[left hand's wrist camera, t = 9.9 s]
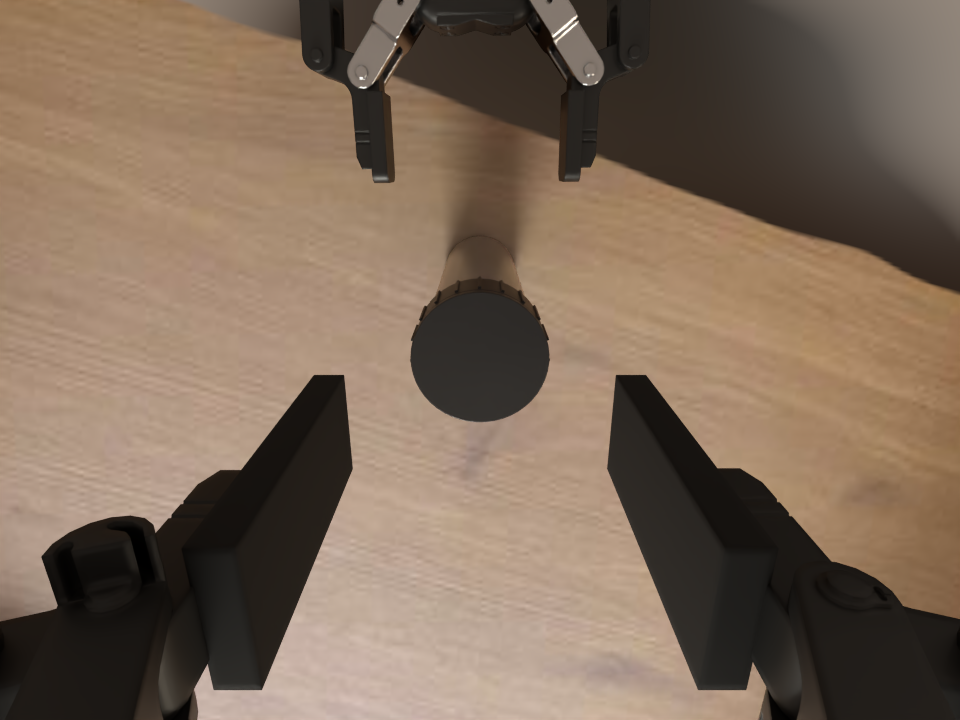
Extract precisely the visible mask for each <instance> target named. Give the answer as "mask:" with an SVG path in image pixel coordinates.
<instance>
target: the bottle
mask: <svg viewBox="0 0 960 720" xmlns="http://www.w3.org/2000/svg"><path fill="white" fill-rule="evenodd" d="M478 277H481V278H484V279H492V280H496V281H500V280H503V283H505V284H508V285H510V286H511V287H513V288H515V289H516V290H518V291H519V290H521V291H522V293H523V295H524V292H523V289H522V286H521V283H520V280H519V277H518V274H517V271H516V268H515V265H514V262H513V259H512V256H511V254H510V253H509V251H508V250H507V248H506V247H505V246H504V245H503V244H502V243H500V242H499V241H497V240H495V239H493V238H490V237H486V236H474V237H470V238H467V239H465V240H463V241H461V242H460V243H458V244H457V245H456V246H455V247H454V248H453V250H452V251H451V252H450V254H449V256H448V259H447V262H446V265H445V268H444V271H443V274H442V277H441V280H440V283H439V286H438V289H437V292H438V291H439V290H440V291H442V290H443V289H445V288H447V287H448V286H450V285H452V284H455V283H456V281H457V280H459V281H463V280H468V279H475V278H478ZM437 292H436V295H437Z"/></svg>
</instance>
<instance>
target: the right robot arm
mask: <svg viewBox="0 0 960 720" xmlns="http://www.w3.org/2000/svg"><path fill="white" fill-rule="evenodd" d="M401 1H403V3H402V4H401V5H399V3H400V2H401ZM550 1H551V3H549V2H548V0H382V1H381V3H380V5H379V6H378V8H377V10H376V12H375V14H374V16H373V19H372V24H371V27H370V29H369V30H368V32H367V34H366V35H365V37H364V39H363V40H362V42H361V44H360V46H359V47H358V49H357V51H356V52H355V54H354V53H351V52H348V51H346V50H345V47H344V15H343V0H299V2H300V21H301V40H302V56H303V60H304V62H305V64H306V65H307V66H308V67H309V68H310V69H311V70H313V71H315V72H317V73H319V74H321V75H323V76H324V77H326V78H328V79H332V80H335V81H337V82H340V83H343V84H345V85H346V86H347V88H348V89H349V91H350V93H351V96H352V104H353V116H354V128H355V141H356V153H357V159H358V161H359V163H360V165H361V167H362V169H372V176H373V181H374V183H391V182H394V180H395V167H394V151H393V134H392V118H391V102H390V96H388V95H387V94H386V93H385V90H384V87H385V86H386V84H387V82H388V81H389V79H390V78H391V76H392V74H393V73H394V71H395V69H396V68H397V66H398V65H399V63H400V61H401V60H402V58H403V57H404V56H405V55H406V54H407V53H408V52H409V51H410V49H411V48H412V46H413V44H414V43H415V41H416V40H417V38H418V36H419V35H420V33H421V31H422V30H423V28H424V27H425V25H426V26H427V27H428V28H430V29H431V30H433V31H436V32H438V33H440V36H459V35H462V34H465V33H468V32H472V31H480V32H483V33H487V34H490V35H511V32H513V31H516V30H517V29H519V28H521V27H522V26H524V25H525V24H526V25H527V27H528V28H529V30H530V32H531V33H532V35H533V36H534V38H535V39H536V41H537V42H538V44H539V45H540V47H541V48H542V49H543V51H544V52H545V53H547V54H548V56H549V57H550V58H551V60H552V61H553V63H554V65H555V66H556V68H557V69H558V71H559V72H560V74H561V75H562V77H563V78H564V80H565V81H566V83H567V91H566V92H565V93H564V94H563V95H562V96H561V117H560V143H559V171H558V174H559V181H562V182H578V181H579V179H580V173H581V168H584V167H591V165H592V163H593V160H594V158H595V156H596V140H597V123H598V106H599V94H600V91H601V88H602V87H603V85H604V84H605V83H606V82H608V81H610V80H613V79H615V78H618V77H622V76H625V75H626V74H628V73H630V72H631V71H632V70H634V69H637V68H638V67H640V66H641V65H643V64H644V63H645V61H646V60H647V58H648V54H649V31H650V0H607V47H606V48H604V49H601V50H599V51H596V49H595V48H594V46H593V45H592V43H591V41H590V40H589V38H588V37H587V35H586V33H585V32H584V30H583V29H582V27H581V25H580V23H579V21H578V16H577V14H576V11H575V9H574V8H573V6H572V4H571V3H570V1H569V0H550ZM411 21H412V22H411Z"/></svg>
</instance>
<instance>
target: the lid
mask: <svg viewBox="0 0 960 720" xmlns="http://www.w3.org/2000/svg"><path fill="white" fill-rule="evenodd" d="M419 320H420V322H419V325H416V328H415V330H414V333H413V336H412V338H411V341H413V342H412V347H411V359H410V361H411V367H412V372H413V375H414V378H415V381H416V383H417V385H418V387H419V389H420V390H421V392H422V393H423V395H424V396H425V397H426V398H427V399H428V401H429V402H430V403H431V404H433V405H434V406H435V407H436V408H437V409H439V410H441V411H442V412H444V413H445V414H447V415H450V416H452V417H454V418H457V419H460V420H465V421H470V422H490V421H496V420H500V419H503V418H506V417H508V416H511V415H513V414H514V413H516V412H518V411H520V410H521V409H522V408H524V407H525V406H526V405H527V404H528V403H530V402H531V401H532V400H533V398H534V397H535V396H536V395H537V393H538V392H539V390H540V389H541V387H542V385H543V383H544V381H545V378H546V375H547V372H548V366H549V361H550V359H549V347H548V343H547V340H549V338H548V335H547V333H546V330H545V327H544V325H543V324H541V322H540V316H539V314H538V311H537V308H536V306H535V305H534V306H533V305H532V304H531V303H530V302H529V300H528V299H527V298H526V297H525V296H524V295H523V293H522V291H521V290H519V291H518V290H516V289H515V288H513V287H511V286H510V285H508V284H505V283H503V280H500V281H496V280H492V279H484V278H481V277H478V278H475V279H468V280H463V281H459V280H457V281H456V283H455V284H452V285H450V286H448V287H447V288H445V289H443V290H442V291H440V290H439V291H438V292H437V295H436V296H435V297H434V298H433V299H432V300H431V301H430V303H429V304H428V306H424V308H423V311H422V313H421V316H420V319H419Z"/></svg>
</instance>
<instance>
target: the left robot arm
mask: <svg viewBox="0 0 960 720" xmlns="http://www.w3.org/2000/svg"><path fill="white" fill-rule="evenodd" d="M352 469H353V467H352V456H351V445H350V434H349V424H348V413H347V402H346V391H345V380H344V375H314V376H313V377H312V378H311V380H310V381H309V382H308V384H307V385H306V386H305V388H304V389H303V390H302V392H301V393H300V394H299V395H298V397H297V398H296V399H295V401H294V402H293V403H292V405H291V406H290V407H289V408H288V410H287V411H286V412H285V414H284V415H283V416H282V418H281V419H280V420H279V422H278V423H277V424H276V425H275V427H274V428H273V429H272V431H271V432H270V433H269V435H268V436H267V437H266V438H265V440H264V441H263V442H262V444H261V445H260V446H259V448H258V449H257V450H256V452H255V453H254V454H253V455H252V457H251V458H250V459H249V461H248V462H247V463H246V465H245V466H244V467H243V468H242V470H220V471H218V472H217V473H215V474H214V475H212V476H210V477H209V478H207V479H206V480H204V481H203V482H201V483H199V484H198V485H197V486H196V487H195V488H194V490H193V491H192V492H191V493H190V494H189V495H188V496H187V498H186V499H185V500H184V503H183V504H181V505H180V506H179V507H178V508H177V509H176V510H175V511H174V513H173V514H172V517H171V518H168V520H167V521H166V522H165V523H164V524H163V525H162V526H161V528H160V529H159V530H158V531H157V532H156V533H155V529H154V525H153V524H152V523H150V522H149V521H148V520H147V519H145V518H141V517H135V516H121V517H111V518H107V519H104V520H100V521H96V522H92V523H89V524H87V525H85V526H83V527H80V528H78V529H76V530H74V531H72V532H69V533H68V534H66V535H65V536H64V537H62V538H61V539H59V540H58V541H56V542H55V543H53V544H52V545H51V546H50V547H49V549H48V550H47V551H46V552H45V553H44V554H43V555H42V560H43V563H44V566H45V569H46V572H47V575H48V578H49V581H50V584H51V587H52V590H53V593H54V595H55V598H56V601H57V604H58V606H57V609H54V610H51V611H46V612H42V613H37V614H33V615H28V616H24V617H19V618H15V619H10V620H6V621H1V622H0V720H197V717H198V707H197V700H196V695H195V691H194V688H195V686H196V684H197V682H198V681H199V679H200V677H201V675H202V673H203V671H204V669H205V668H206V666H207V664H208V667H209V671H210V676H211V680H212V684H213V689H214V690H262V688H263V686H264V683H265V681H266V679H267V676H268V674H269V671H270V669H271V666H272V664H273V662H274V659H275V657H276V654H277V652H278V649H279V647H280V644H281V642H282V640H283V637H284V635H285V632H286V630H287V627H288V625H289V623H290V620H291V618H292V615H293V613H294V610H295V608H296V606H297V603H298V601H299V598H300V596H301V593H302V591H303V588H304V586H305V584H306V581H307V579H308V576H309V574H310V571H311V569H312V567H313V564H314V562H315V559H316V557H317V554H318V552H319V550H320V547H321V545H322V542H323V540H324V537H325V535H326V532H327V530H328V528H329V525H330V523H331V520H332V518H333V515H334V513H335V511H336V508H337V506H338V503H339V501H340V498H341V496H342V494H343V491H344V489H345V486H346V484H347V481H348V479H349V476H350V474H351V472H352ZM607 469H608V472H609V474H610V477H611V479H612V481H613V484H614V486H615V489H616V491H617V494H618V496H619V498H620V501H621V503H622V506H623V508H624V511H625V513H626V515H627V518H628V520H629V523H630V525H631V528H632V530H633V533H634V535H635V537H636V540H637V542H638V545H639V547H640V550H641V552H642V554H643V557H644V559H645V562H646V564H647V567H648V569H649V571H650V574H651V576H652V579H653V581H654V584H655V586H656V588H657V591H658V593H659V596H660V598H661V601H662V603H663V606H664V608H665V610H666V613H667V615H668V618H669V620H670V623H671V625H672V627H673V630H674V632H675V635H676V637H677V640H678V642H679V644H680V647H681V649H682V652H683V654H684V657H685V659H686V662H687V664H688V666H689V669H690V671H691V674H692V676H693V679H694V681H695V683H696V686H697V688H698V690H746V689H747V684H748V680H749V676H750V671H751V667H752V663H754V665H755V667H756V668H757V670H758V672H759V674H760V676H761V678H762V679H763V681H764V683H765V685H766V691H765V695H764V699H763V704H762V708H761V712H760V716H759V720H960V619H957V618H952V617H948V616H943V615H939V614H934V613H930V612H925V611H920V610H916V609H911V608H908V607H904V606H903V605H902V604H901V603H900V601H899V600H898V598H897V597H896V596H895V594H894V593H893V592H892V591H891V590H890V589H889V588H887V587H886V586H885V585H884V584H882V583H881V582H880V581H878V580H877V579H876V578H874V577H872V576H870V575H868V574H866V573H864V572H862V571H860V570H858V569H856V568H853V567H850V566H847V565H843V564H840V563H837V562H831V561H830V559H829V558H828V557H827V556H826V555H825V554H824V553H823V551H822V550H821V549H820V548H819V547H818V546H817V545H816V543H815V542H814V541H813V540H812V539H811V538H810V537H809V535H808V534H807V533H806V532H805V531H804V530H803V529H802V527H801V526H800V525H799V524H798V523H797V522H796V520H795V519H794V518H793V517H792V516H789V512H788V511H787V510H786V509H785V508H784V507H783V506H782V504H781V503H780V502H777V499H776V498H775V496H774V495H773V494H772V493H771V492H770V491H769V490H768V488H767V487H766V486H765V485H764V484H763V483H762V482H761V481H759V480H758V479H756V478H754V477H753V476H751V475H750V474H748V473H746V472H745V471H743V470H742V469H740V468H717V467H716V466H715V465H714V463H713V462H712V461H711V459H710V458H709V457H708V455H707V454H706V453H705V452H704V450H703V449H702V448H701V446H700V445H699V444H698V442H697V441H696V440H695V438H694V437H693V436H692V435H691V433H690V432H689V431H688V429H687V428H686V427H685V425H684V424H683V423H682V422H681V420H680V419H679V418H678V416H677V415H676V414H675V412H674V411H673V410H672V408H671V407H670V406H669V405H668V403H667V402H666V401H665V399H664V398H663V397H662V395H661V394H660V393H659V392H658V390H657V389H656V388H655V386H654V385H653V384H652V382H651V381H650V380H649V378H648V377H647V376H646V375H616V380H615V391H614V402H613V413H612V424H611V434H610V445H609V456H608V467H607Z"/></svg>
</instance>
